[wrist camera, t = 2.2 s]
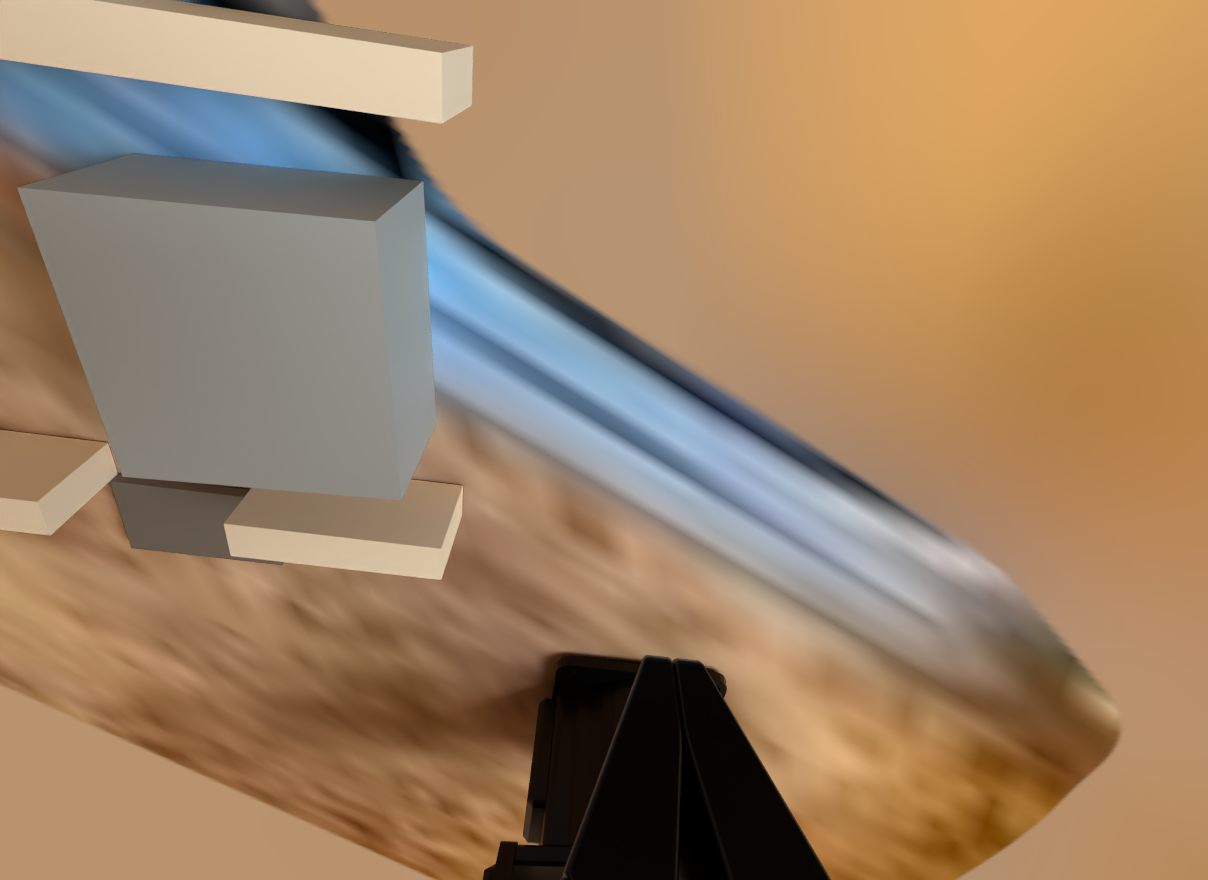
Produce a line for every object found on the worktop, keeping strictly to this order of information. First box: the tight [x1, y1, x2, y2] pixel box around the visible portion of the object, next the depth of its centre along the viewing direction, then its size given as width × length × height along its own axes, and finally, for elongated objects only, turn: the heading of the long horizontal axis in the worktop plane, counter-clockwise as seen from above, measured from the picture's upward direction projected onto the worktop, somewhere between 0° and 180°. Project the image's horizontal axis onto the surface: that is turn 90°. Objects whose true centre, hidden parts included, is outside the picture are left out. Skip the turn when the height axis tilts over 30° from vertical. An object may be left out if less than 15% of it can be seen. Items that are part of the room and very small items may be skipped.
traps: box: [110, 474, 283, 565], centre depth 18 cm, size 6×22×1 cm, turn 16°
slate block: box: [17, 153, 436, 500], centre depth 17 cm, size 7×7×4 cm
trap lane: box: [0, 0, 473, 580], centre depth 17 cm, size 20×13×3 cm
